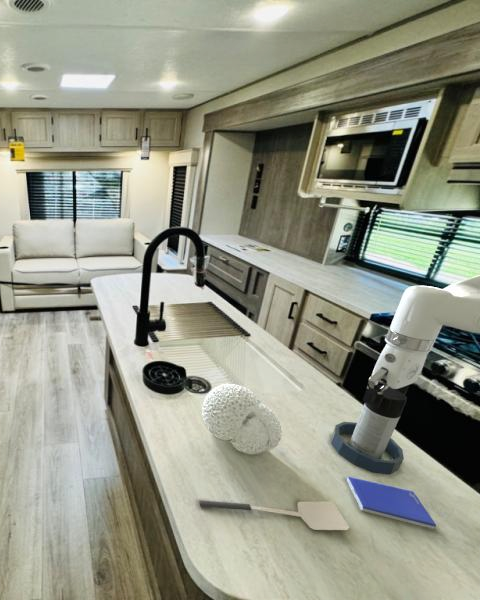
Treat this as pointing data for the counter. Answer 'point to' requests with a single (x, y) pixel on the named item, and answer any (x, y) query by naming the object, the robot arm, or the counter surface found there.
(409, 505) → the hard drive
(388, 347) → the robot arm
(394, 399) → the spray can
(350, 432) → the faceted blue ring
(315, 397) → the counter surface
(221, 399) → the white textured rounded lump
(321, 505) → the spatula
